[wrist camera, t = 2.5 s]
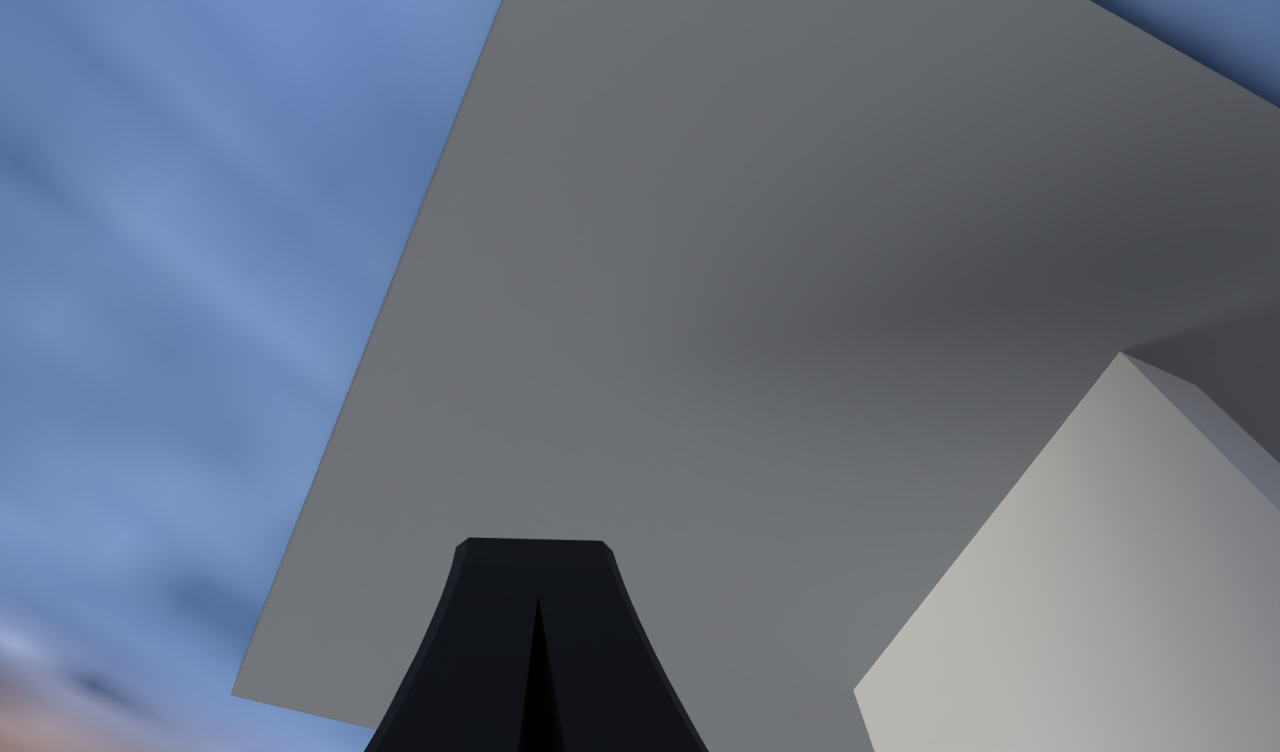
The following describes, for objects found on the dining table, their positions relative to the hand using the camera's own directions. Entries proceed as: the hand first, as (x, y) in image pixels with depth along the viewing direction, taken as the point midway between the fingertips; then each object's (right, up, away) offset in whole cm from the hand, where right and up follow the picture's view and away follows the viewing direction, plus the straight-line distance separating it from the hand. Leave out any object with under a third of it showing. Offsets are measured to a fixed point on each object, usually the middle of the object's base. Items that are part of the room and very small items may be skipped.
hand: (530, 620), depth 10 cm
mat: (+7, 0, +7) cm, 9 cm away
